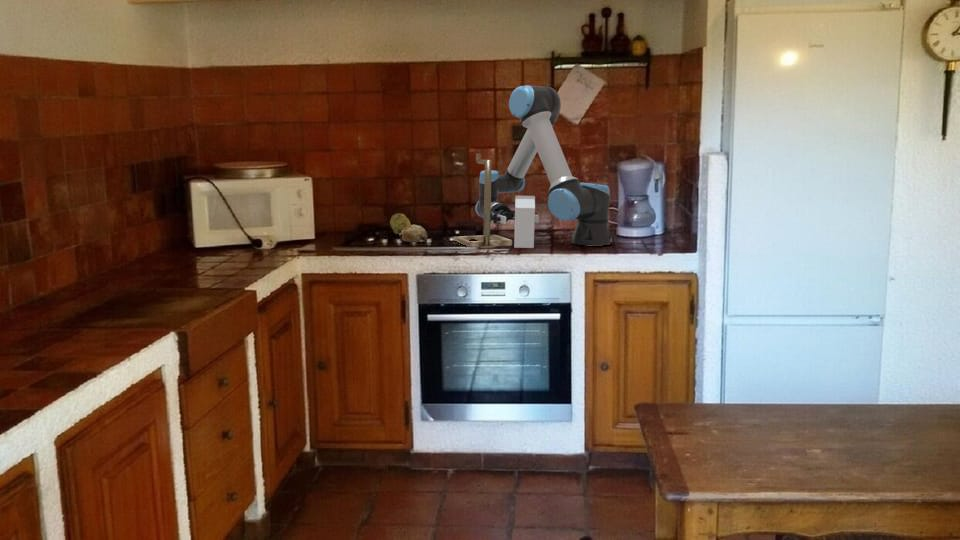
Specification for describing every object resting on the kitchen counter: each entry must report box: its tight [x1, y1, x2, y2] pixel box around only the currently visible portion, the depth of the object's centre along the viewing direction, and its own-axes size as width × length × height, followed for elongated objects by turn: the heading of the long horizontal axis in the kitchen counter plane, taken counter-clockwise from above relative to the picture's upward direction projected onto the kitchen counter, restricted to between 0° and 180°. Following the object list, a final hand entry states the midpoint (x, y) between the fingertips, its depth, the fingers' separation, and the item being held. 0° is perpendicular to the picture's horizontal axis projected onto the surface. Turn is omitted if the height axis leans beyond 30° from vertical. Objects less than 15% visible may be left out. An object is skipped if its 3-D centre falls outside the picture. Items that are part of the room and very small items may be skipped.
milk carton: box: [513, 195, 536, 249], centre depth 341 cm, size 7×7×19 cm
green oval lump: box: [389, 212, 412, 235], centre depth 366 cm, size 8×13×8 cm, turn 8°
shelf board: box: [452, 234, 513, 248], centre depth 348 cm, size 18×14×2 cm
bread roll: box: [398, 224, 428, 243], centre depth 352 cm, size 10×10×8 cm
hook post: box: [475, 153, 495, 249], centre depth 340 cm, size 5×11×34 cm, turn 24°
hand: (521, 219), depth 342 cm, fingers open, 13 cm apart
